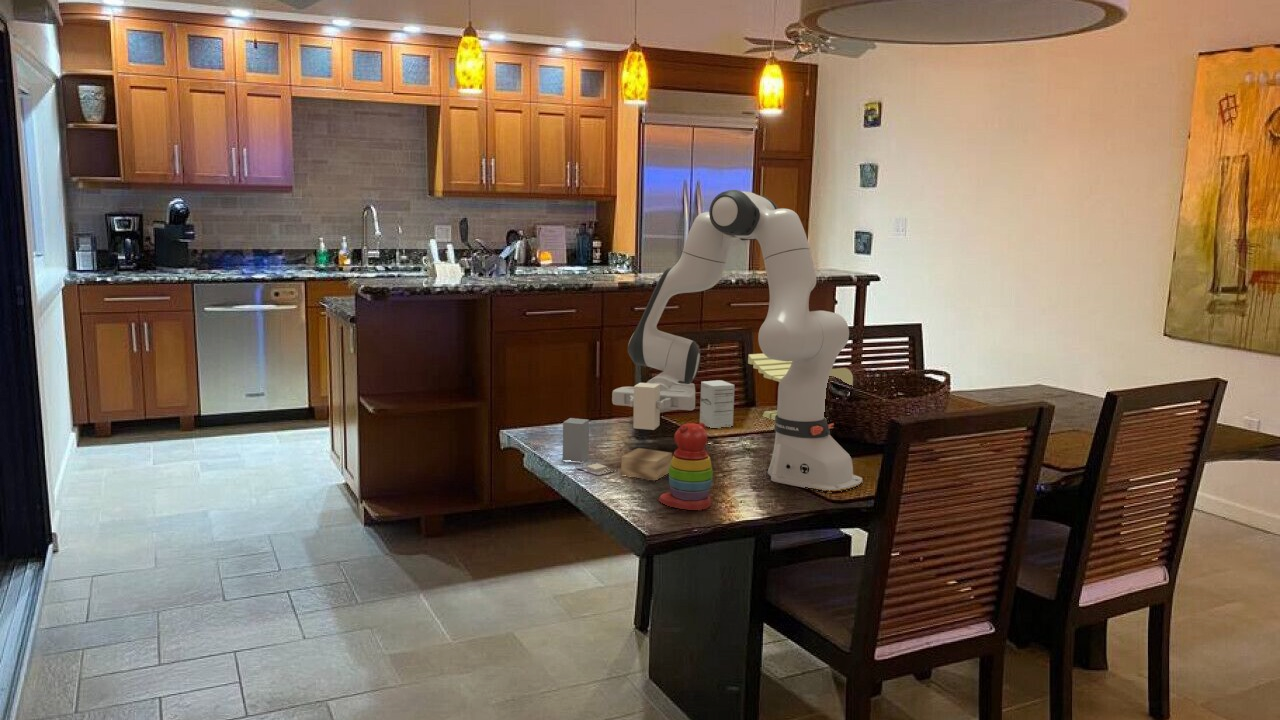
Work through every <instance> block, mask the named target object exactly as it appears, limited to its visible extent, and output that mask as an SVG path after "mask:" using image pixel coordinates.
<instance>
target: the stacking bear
mask: <svg viewBox="0 0 1280 720" xmlns="http://www.w3.org/2000/svg"><path fill="white" fill-rule="evenodd" d="M706 427H707V426H705V424H704V423H700V422H699V423H694V422H688V423H684V424H682V425H680V426H679V428H677V430H676V431H675V432H674V436H673V437H674V438H673V439H674V442H675V445H676V446H677V448H676V449H675V450H674V452H673V454H672V460H671V465H670V467H669V474H668V482H669V483H668V484H669V490H670V491H668V492H665V493H662V494H661V495H660V496H659V498H658V501H660V502H661V503H660V502H659V503H660V504H662V503H663V504H665V505H667V506H666V507H668V506H670V507H669V508H671V507H675V508H680V509H688V510H698V511H702V509H703V510H706V509H708V508H710V507H711V505H712V499H711V496H710V492H711V487H712V485H713V475H714V473H713V466H712V461H711V457H710V456H709V453H708V452H707V450H705V447H706V445H707V443H708V432H707V431H706ZM663 504H662V505H663ZM665 505H664V506H665Z"/></svg>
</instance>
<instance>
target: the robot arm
mask: <svg viewBox="0 0 1280 720" xmlns="http://www.w3.org/2000/svg"><path fill="white" fill-rule="evenodd" d="M708 210H709V211H705V212H701V213H699V214H698V215H697V216H696V217H695V218H694V221H693V222H692V225H691V227H690V230H689V232H688V234H687V237H686V239H685V242H684V246H683V249H682V250H683V251H682V253H681V256H680V257H679V260H678V261H677V262H676V264H675V265H673V267H669V268H667V269H665V270H664V272H663V273H662V274H661V276H660V278H659V280H658V282H657V283H656V285H655V287H654V290H653V291H652V294H651V296H650V299H648V300H649V301H648V303H647V305H646V307H645V309H644V312H643V314H642V316H641V318H640V320H639V322H638V324H637V326H636V327H635V330H634V332H633V333H632V335H631V337H630V339H629V341H628V345H627V354H628V356H629V357H630V359H631V361H632V362H633V363H634V364H635V365H638V366H643V367H647V368H649V367H650V368H651V369H655V370H659V371H661V372H660V373H658V374H657V375H655V376H654V377H652V378H651V379H648V380H647V382H646V383H653V384H660V400H658V401H657V402H656V405H657V406H656V409H660V413H665V412H671V411H677V410H678V411H693V410H694V409H695V408H696V386H695V383H693V381H694V380H695V379H696V377H697V374H698V372H699V369H700V365H701V360H702V355H701V351H700V348H699V345H698V344H697V342H696V341H695V340H691V339H689V338H686V337H683V336H681V335H680V336H679V335H675V334H672V333H668V332H665V331H662V330H659V329H658V327H657V325H658V324H659V321H660V320H661V319H660V318H661V317H662V315H663V312H664V310H665V308H666V307H667V304H668V302H669V300H670V299H671V298H672V297H673V296H675V295H678V294H685V293H687V294H688V293H697V292H699V293H700V292H703V291H704V292H705V291H706V290H709V289H712V288H714V286H716V285H717V284H718V283H719V282H720V279H721V278H722V275H723V273H724V269H725V268H726V266H725V265H726V263H727V260H728V255H729V251H730V249H731V246H732V245H733V243H734V242H736V241H737V240H740V241H757V242H758V243H759V245H760V250H761V254H762V259H763V263H764V268H765V273H766V278H767V283H768V290H769V305H768V311H767V313H766V314H767V315H766V317H765V319H764V322H763V323H762V324H761V326H760V328H759V331H758V335H757V336H758V337H757V338H758V339H757V341H758V346H759V348H760V350H761V352H762V354H763V353H764V354H765V355H766V356H767V357H768V358H770V359H774V360H779V361H792V363H791V366H790V368H789V370H788V372H787V373H786V375H785V376H784V377H783V378H782V379H781V381H780V382H778V387H777V388H778V389H777V408H776V410H777V415H776V416H775V421H774V433H775V438H774V445H773V449H772V450H773V451H772V456H771V459H770V460H771V461H770V464H769V467H768V469H767V474H768V476H770V481H772V482H775V483H778V484H783V485H788V486H794V487H800V488H804V489H806V488H805V487H808V488H816V489H822V490H829V491H830V490H840V489H846V488H850V487H853V486H856V485H858V484H860V483H861V482H862V483H863V477H861V476H859V475H856V474H854V468H853V467H854V466H853V460H852V457H851V456H850V454H849V453H848V452H847V451H846V450H845V449H844V448H843V446H841V445H840V444H839V443H838V442H837V441H836V440H835V439H834V438H833V436H832V435H831V431H830V429H834V428H835V427H834V425H835V424H834V422H832V423H829V424H828V420H827V419H826V418H825V417H824V412H825V399H826V388H827V383H828V379H829V376H830V373H831V370H832V369H833V367H834V365H835V362H836V360H837V357H838V355H839V354H840V353H841V351H842V350H843V349H844V348H845V347H846V345H847V343H848V341H849V337H850V328H849V325H848V323H847V321H846V319H845V318H844V317H843V316H842V315H840V314H839V313H837V312H832V311H827V310H811V311H810V308H809V306H810V304H809V302H810V296H811V292H812V291H813V290H814V288H815V287H816V285H817V275H816V270H815V266H814V262H813V257H812V252H811V248H810V244H809V239H808V238H807V233H806V231H805V229H804V226H803V223H802V221H801V219H800V217H799V215H798V213H797V212H795V211H794V210H792V209H791V208H790V209H789V208H779V207H778V205H777V204H776V203H775V202H774V201H773V200H772V199H770V198H768V197H766V196H761V195H759V194H757V193H754V192H751V191H744V190H738V189H729V190H726V191H722V192H720V193H718V195H716V196H715V197H714V198H713V200H712V202H711V203H710V206H709V209H708ZM611 396H612V397H611V401H612V402H611V403H612V404H613V405H614V406H623V407H625V406H626V407H630V408H634V386H621V387H617V388H615V389H613V390H612V393H611ZM808 488H807V489H808Z"/></svg>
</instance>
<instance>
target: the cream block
mask: <svg viewBox="0 0 1280 720" xmlns="http://www.w3.org/2000/svg"><path fill="white" fill-rule="evenodd" d="M633 387H634V407H633V418H632V419H633V420H632V421H633V422H632V423H633V426H632V427H633V429H638V430H649V431H650V430H652V431H654V430H656V429H657V428H658V427H659V426H660V420H661V419H660V418H661V417H660V416H661V412H660V409H656V406H657V405H656V402H657V401H658V400H660V384H653V383H647V382H638V383H637V384H635V385H634V386H633Z"/></svg>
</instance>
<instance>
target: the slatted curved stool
mask: <svg viewBox="0 0 1280 720" xmlns="http://www.w3.org/2000/svg"><path fill="white" fill-rule="evenodd" d="M791 363H792V361H779V360H774V359H770V358H768V357H767V356H766V355H765V354H764V353H763V352H762V353H751V354H750V353H749V354H748V358H747V364H749V365H753V366H752V368H753V369H756V370H758V372H757V373H759V374H761V375H762V374H763V378H764V379H768V380H772V381H775V382H778V383H780V381H781V379H782V378H783V377H784V376H785V375H786V373H787V372H788V370H789V368H790V366H791ZM830 376H834V377H836V378H839V379H841V380H842V381H843V382H845V383H847V384H849V385H852V386H853V385H854V377H853V373H852V371H851V370H850V369H849V368H848V367H840V368H832V370H831V373H830ZM776 415H777V409H773V410H767V411H763V414H762V416H764V417H767V418H771V419H773V420H775V416H776ZM764 417H763V418H764ZM771 419H770V420H771Z"/></svg>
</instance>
